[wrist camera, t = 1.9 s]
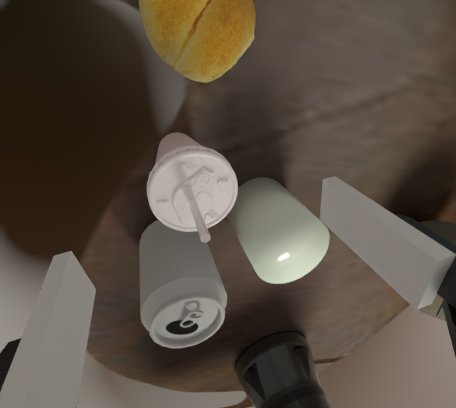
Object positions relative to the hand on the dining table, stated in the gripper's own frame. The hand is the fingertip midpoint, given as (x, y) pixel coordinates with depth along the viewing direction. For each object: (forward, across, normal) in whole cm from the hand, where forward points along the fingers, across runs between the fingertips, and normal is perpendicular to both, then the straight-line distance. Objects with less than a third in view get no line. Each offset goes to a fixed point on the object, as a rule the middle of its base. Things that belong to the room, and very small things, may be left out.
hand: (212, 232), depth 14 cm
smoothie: (+15, 0, 0) cm, 15 cm away
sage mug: (+15, -8, +10) cm, 19 cm away
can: (+15, +3, +11) cm, 19 cm away
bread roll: (+15, -4, -10) cm, 19 cm away
